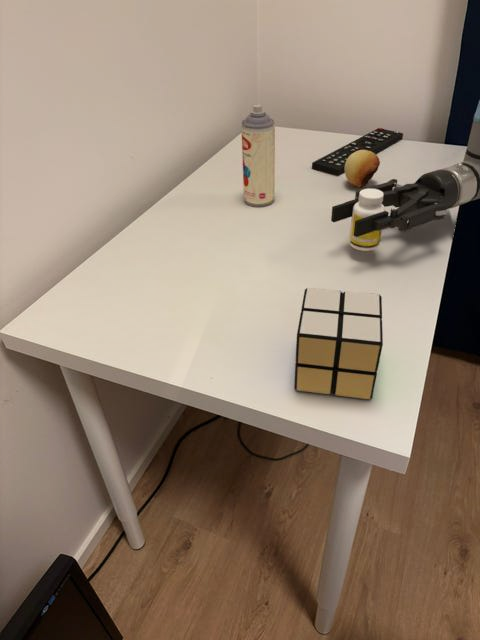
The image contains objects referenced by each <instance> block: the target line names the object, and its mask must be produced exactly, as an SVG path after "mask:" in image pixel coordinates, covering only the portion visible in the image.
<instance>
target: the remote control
mask: <svg viewBox="0 0 480 640" xmlns="http://www.w3.org/2000/svg"><path fill="white" fill-rule="evenodd" d="M403 138H404V133H403V132H400V131H395V130H391V129H385V128H382V127H377V128H376V129H374V130H372V131H370V132H368V133H366V134H364V135H362V136H360V137H359V138H357V139H355V140H352V141H351V142H349V143H347V144H345V145H343V146H342V147H340V148H338V149H336V150H334V151H332V152H330V153H328V154H326V155H324V156H322V157H320V158H318V159H316V160H315V161H312V162H311V169H312V170H315V171H318V172H322V173H325V174H328V175H332V176H335V177H340V176H341V175H343V174H345V163H346V161H347V159H348V157H349V156H350V155H351V154H352V153H354V152H356V151H359V150H367V151H371V152H373V153H375V154H376V155H378V154H379V153H381V152H383V151H384V150H386V149H388V148H390V147H392V146H393V145H395V144H396V143H399V142H401V141H402V140H403Z"/></svg>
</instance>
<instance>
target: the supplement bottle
mask: <svg viewBox="0 0 480 640" xmlns="http://www.w3.org/2000/svg"><path fill="white" fill-rule="evenodd" d="M362 189H363V190H361V189H360V190H361V191H360V193H359V202H357V203H356V204H355V205H354V207H353V213H352V217H351V224H350V230H349V238H348V244H349V246H350V247H352V248H353V249H354V250H358V251H363V252H368V251H369V252H370V251H373V250H376V249H377V248H378V247H380V242H381V236H382V230H383V229H382V230H380V231H373V232H370V233H367V234H364V235H361V236H358V237H355V236H354V227H355V221H356V220H359V219H362V218H365V217H368V216H371V215H374V214H377V213H380V212H384V211H386V207H384V206H383V204H381V203H382V201H383V196H384V194H383V192H382V191H380V190H377V189H365V188H362Z"/></svg>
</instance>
